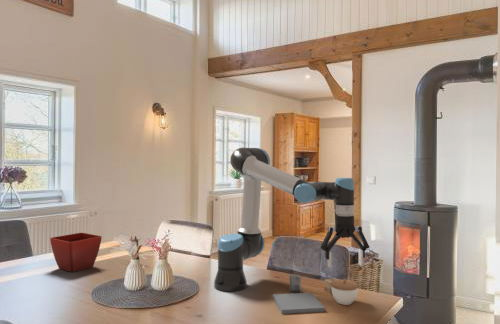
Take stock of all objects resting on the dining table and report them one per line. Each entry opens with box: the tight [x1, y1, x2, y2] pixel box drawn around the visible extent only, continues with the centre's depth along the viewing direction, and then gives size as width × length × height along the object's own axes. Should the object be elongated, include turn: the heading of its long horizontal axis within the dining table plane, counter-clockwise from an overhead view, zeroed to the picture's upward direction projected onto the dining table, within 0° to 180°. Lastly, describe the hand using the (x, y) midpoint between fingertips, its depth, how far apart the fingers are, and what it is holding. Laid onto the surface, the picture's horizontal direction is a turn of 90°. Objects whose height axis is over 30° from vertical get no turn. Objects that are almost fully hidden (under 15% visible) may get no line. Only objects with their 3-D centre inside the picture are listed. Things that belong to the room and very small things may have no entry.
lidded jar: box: [331, 278, 359, 306], centre depth 159 cm, size 11×11×9 cm
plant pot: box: [49, 232, 102, 273], centre depth 208 cm, size 19×19×17 cm
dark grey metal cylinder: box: [289, 273, 302, 294], centre depth 172 cm, size 5×5×7 cm
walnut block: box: [323, 278, 339, 295], centre depth 172 cm, size 6×5×5 cm
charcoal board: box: [272, 292, 325, 315], centre depth 156 cm, size 17×17×2 cm
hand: (345, 266), depth 159 cm, fingers open, 13 cm apart
